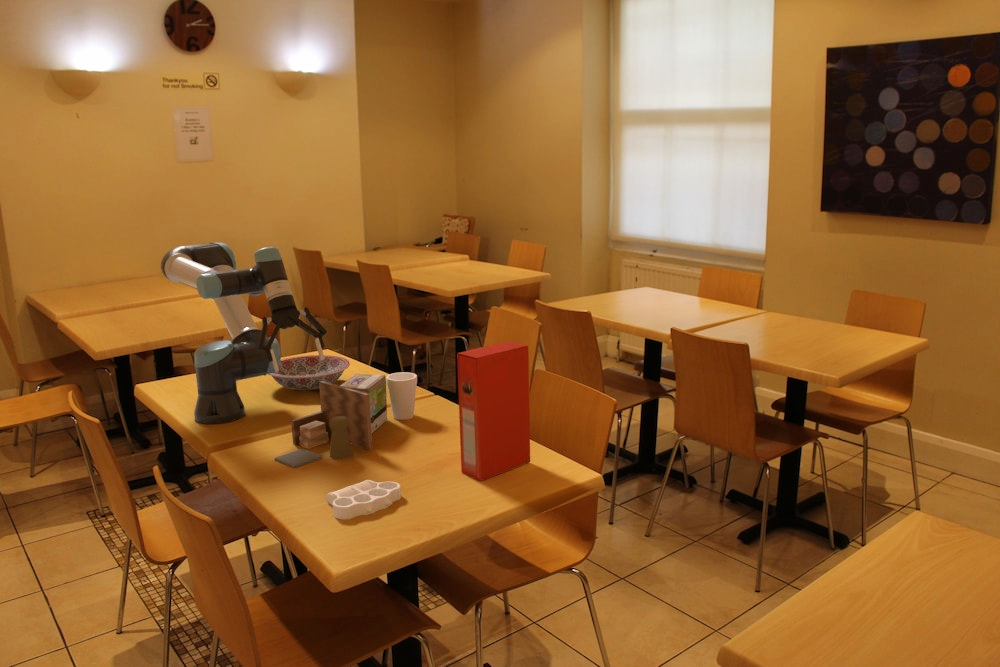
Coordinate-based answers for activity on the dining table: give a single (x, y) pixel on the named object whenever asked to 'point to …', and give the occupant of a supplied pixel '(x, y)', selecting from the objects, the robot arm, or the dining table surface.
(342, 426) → the olive brown peg
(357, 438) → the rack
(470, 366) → the file binder
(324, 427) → the offcut upper
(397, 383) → the foam cup
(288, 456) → the coaster
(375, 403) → the tea box
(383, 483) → the white flat holed block
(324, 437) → the offcut lower
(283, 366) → the ceramic bowl
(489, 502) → the dining table surface
